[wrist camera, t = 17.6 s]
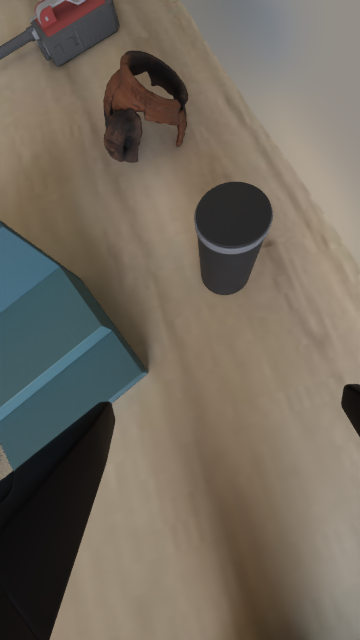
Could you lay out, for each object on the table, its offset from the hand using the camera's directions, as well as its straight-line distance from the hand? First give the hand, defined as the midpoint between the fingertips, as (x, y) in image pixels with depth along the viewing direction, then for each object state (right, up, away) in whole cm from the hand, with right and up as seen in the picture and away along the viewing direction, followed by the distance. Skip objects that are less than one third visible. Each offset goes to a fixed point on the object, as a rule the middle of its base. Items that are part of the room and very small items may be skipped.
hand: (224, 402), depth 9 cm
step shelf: (-14, -2, +14) cm, 20 cm away
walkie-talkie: (-20, +46, +27) cm, 56 cm away
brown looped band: (-6, +25, +20) cm, 32 cm away
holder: (+3, +8, +14) cm, 17 cm away
